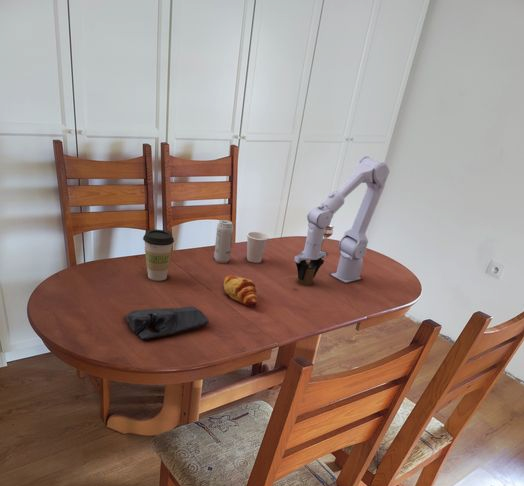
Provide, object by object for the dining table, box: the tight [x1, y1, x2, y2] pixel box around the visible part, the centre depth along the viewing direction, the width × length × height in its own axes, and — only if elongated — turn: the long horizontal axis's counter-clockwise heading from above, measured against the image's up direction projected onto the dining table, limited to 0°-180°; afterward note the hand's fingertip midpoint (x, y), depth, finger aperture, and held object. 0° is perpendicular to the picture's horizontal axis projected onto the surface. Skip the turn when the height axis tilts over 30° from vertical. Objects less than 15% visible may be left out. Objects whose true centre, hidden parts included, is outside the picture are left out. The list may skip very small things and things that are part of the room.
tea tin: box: [297, 261, 316, 286], centre depth 174 cm, size 6×6×7 cm
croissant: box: [223, 274, 258, 307], centre depth 156 cm, size 21×10×8 cm, turn 30°
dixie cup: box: [246, 231, 269, 264], centre depth 184 cm, size 8×8×10 cm
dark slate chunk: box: [125, 305, 209, 341], centre depth 134 cm, size 15×22×5 cm
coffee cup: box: [142, 229, 175, 282], centre depth 157 cm, size 10×10×15 cm
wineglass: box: [320, 223, 335, 251], centre depth 202 cm, size 7×7×12 cm
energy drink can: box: [213, 219, 234, 264], centre depth 177 cm, size 6×6×15 cm
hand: (306, 278), depth 175 cm, fingers closed on tea tin, 5 cm apart
